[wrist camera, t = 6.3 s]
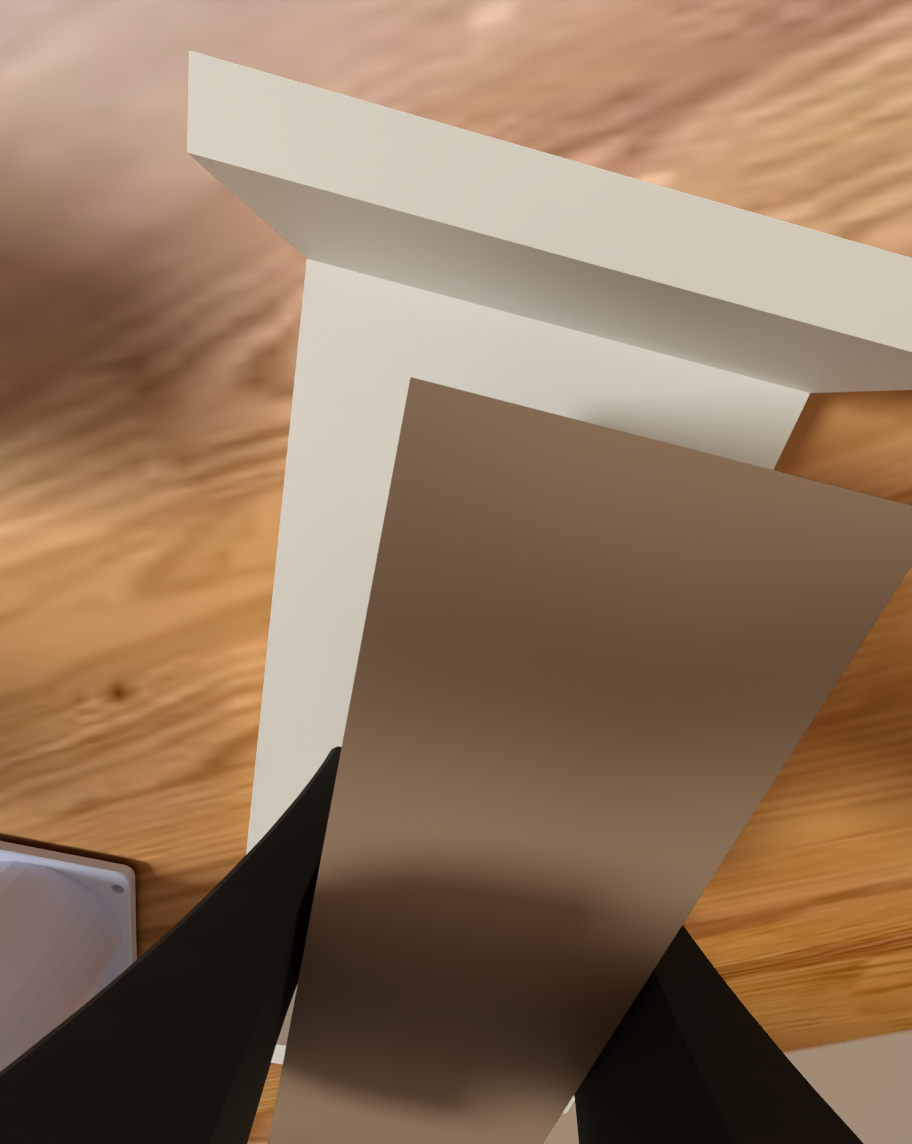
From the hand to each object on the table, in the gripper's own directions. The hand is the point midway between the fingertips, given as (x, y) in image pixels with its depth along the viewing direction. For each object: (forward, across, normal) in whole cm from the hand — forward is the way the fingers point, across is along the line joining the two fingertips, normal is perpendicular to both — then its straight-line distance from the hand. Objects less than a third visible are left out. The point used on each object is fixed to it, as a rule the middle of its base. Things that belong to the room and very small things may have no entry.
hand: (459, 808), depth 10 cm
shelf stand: (+6, 0, 0) cm, 6 cm away
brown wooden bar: (+2, 0, 0) cm, 2 cm away
